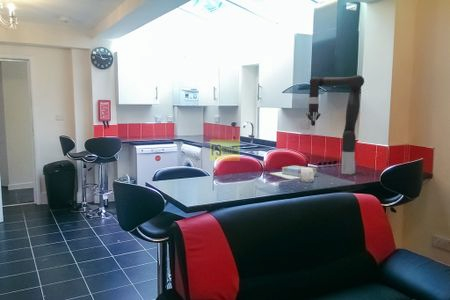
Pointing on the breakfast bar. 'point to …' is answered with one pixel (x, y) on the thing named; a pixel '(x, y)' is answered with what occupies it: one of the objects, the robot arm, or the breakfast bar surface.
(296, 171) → the snack box
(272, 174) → the mat
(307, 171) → the mug
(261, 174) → the breakfast bar surface
